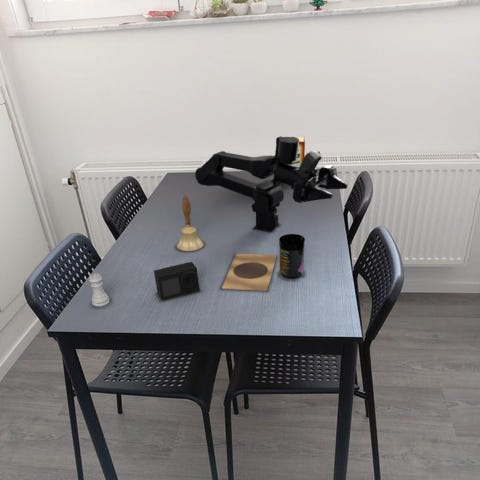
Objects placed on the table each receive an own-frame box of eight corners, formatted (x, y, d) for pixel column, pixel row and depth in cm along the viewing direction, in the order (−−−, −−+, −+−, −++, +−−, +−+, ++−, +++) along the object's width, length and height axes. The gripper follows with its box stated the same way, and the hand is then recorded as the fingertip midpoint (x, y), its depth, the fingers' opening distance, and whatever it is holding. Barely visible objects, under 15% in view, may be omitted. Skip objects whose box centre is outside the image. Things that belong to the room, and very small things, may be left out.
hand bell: (207, 241, 152) (203, 192, 143) (197, 252, 145) (191, 201, 136) (183, 238, 154) (177, 190, 145) (172, 249, 148) (165, 199, 139)
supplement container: (298, 282, 128) (299, 246, 122) (275, 277, 130) (274, 242, 125) (307, 271, 133) (308, 236, 127) (285, 266, 135) (285, 232, 130)
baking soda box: (280, 181, 197) (280, 141, 188) (280, 176, 202) (280, 137, 193) (303, 181, 196) (304, 140, 187) (303, 176, 201) (304, 136, 192)
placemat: (236, 254, 143) (236, 253, 143) (276, 256, 141) (276, 254, 141) (222, 288, 127) (222, 287, 126) (267, 291, 125) (267, 289, 124)
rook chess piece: (93, 299, 125) (87, 272, 121) (111, 297, 125) (105, 270, 121) (90, 308, 121) (83, 280, 117) (108, 306, 122) (102, 279, 117)
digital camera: (162, 303, 122) (158, 279, 118) (157, 293, 126) (153, 269, 122) (201, 293, 125) (198, 269, 121) (194, 284, 129) (191, 261, 125)
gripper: (279, 157, 133) (329, 173, 126) (313, 141, 145) (360, 155, 138) (275, 195, 140) (321, 212, 133) (307, 177, 152) (352, 192, 145)
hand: (339, 191), depth 137 cm, fingers open, 9 cm apart
